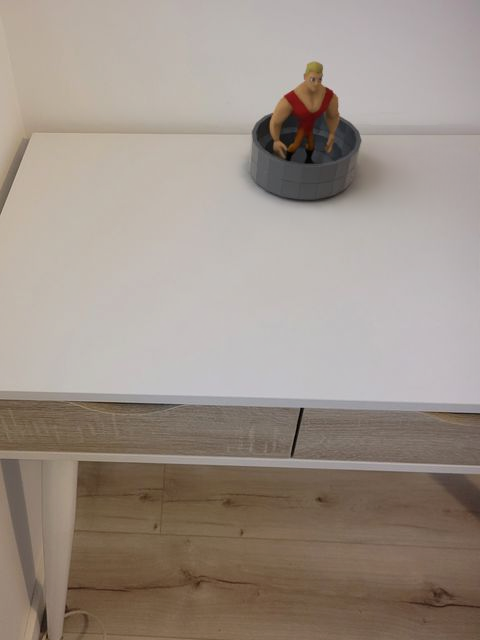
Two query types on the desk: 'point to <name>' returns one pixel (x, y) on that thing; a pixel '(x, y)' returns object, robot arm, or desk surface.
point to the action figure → (306, 113)
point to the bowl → (295, 175)
